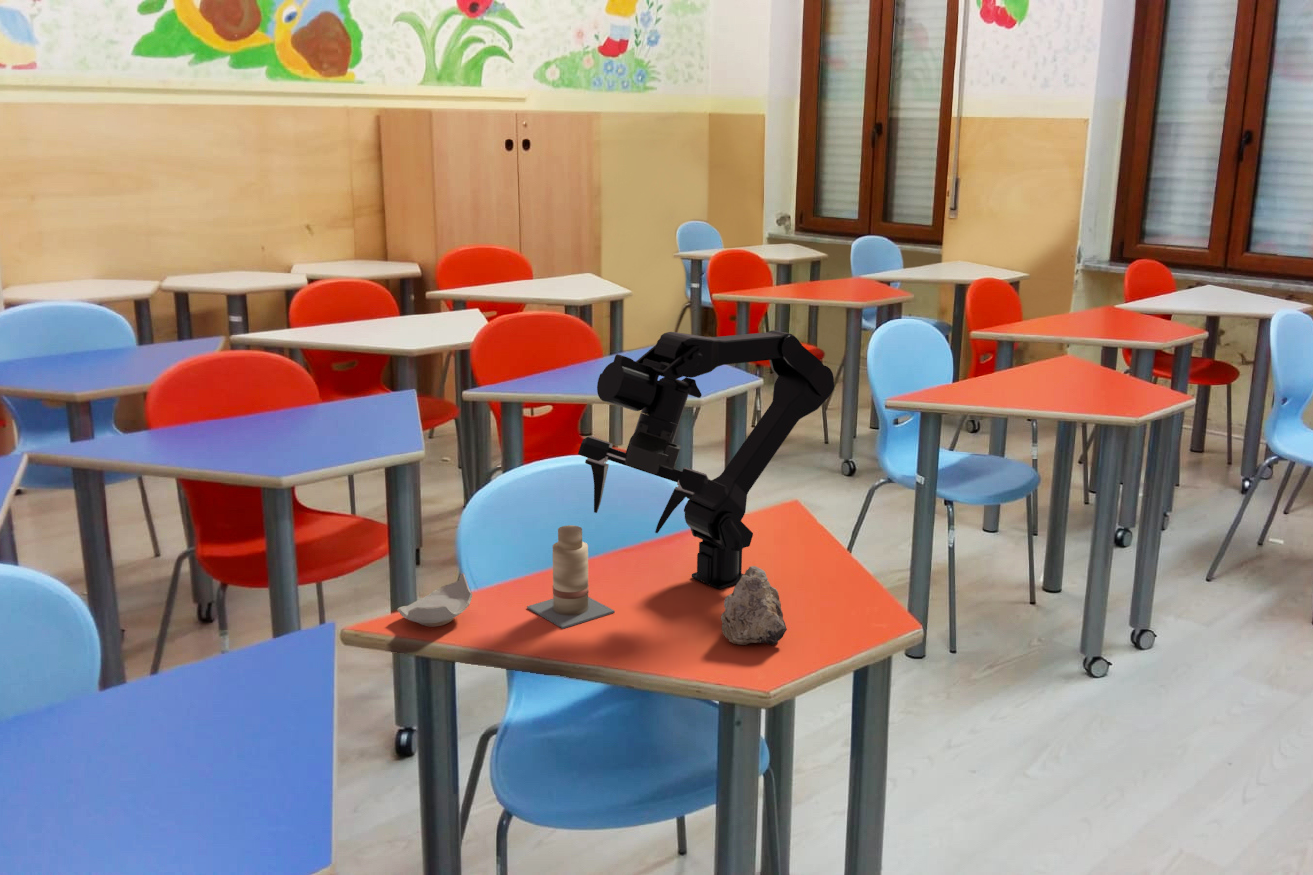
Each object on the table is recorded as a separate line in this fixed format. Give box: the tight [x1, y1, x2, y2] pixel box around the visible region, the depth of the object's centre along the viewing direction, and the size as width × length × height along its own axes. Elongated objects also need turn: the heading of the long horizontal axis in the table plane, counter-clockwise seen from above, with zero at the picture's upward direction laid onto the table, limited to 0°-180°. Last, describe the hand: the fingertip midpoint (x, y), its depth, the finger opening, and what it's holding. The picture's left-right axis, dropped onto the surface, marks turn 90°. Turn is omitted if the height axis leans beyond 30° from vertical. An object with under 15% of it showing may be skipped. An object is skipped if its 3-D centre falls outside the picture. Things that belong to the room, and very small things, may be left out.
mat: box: [526, 596, 615, 630], centre depth 160 cm, size 9×9×1 cm
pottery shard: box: [396, 572, 473, 628], centre depth 155 cm, size 10×11×5 cm
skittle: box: [552, 524, 590, 615], centre depth 158 cm, size 5×5×12 cm
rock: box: [720, 565, 788, 646], centre depth 151 cm, size 8×11×9 cm
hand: (625, 522), depth 159 cm, fingers open, 9 cm apart
